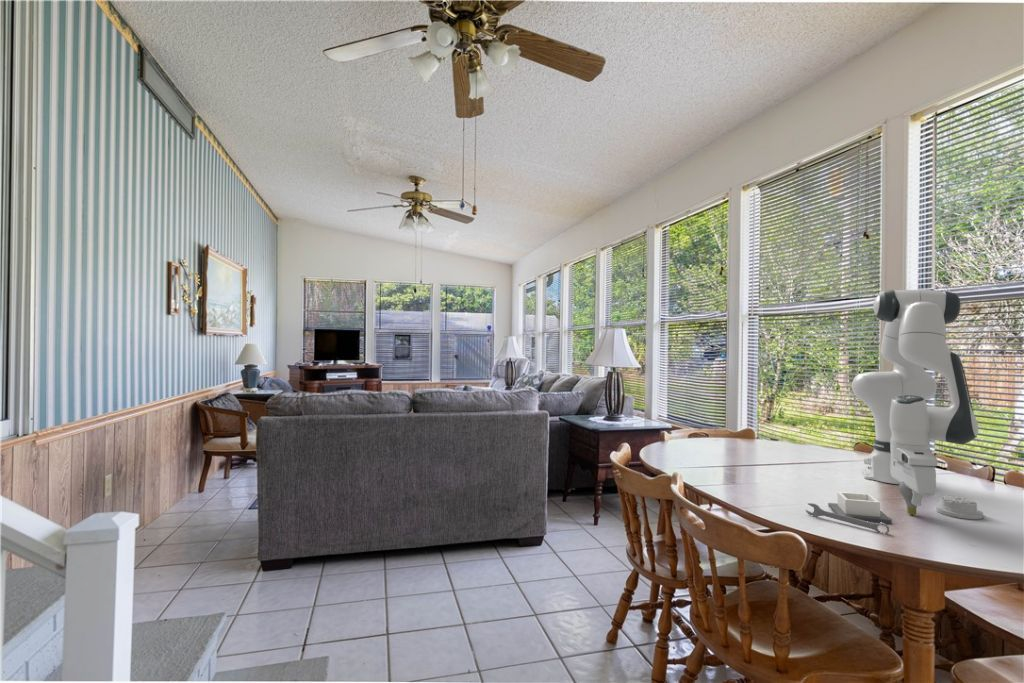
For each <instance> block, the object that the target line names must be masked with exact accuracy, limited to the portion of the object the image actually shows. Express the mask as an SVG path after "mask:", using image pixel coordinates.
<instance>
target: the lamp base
mask: <svg viewBox="0 0 1024 683" xmlns="http://www.w3.org/2000/svg"><path fill="white" fill-rule="evenodd" d="M836 493H837V494H836V495H837V496H836V497H837V503H834V502H827V503H828V507H829V509H830V508H831V509H832V510H833V511H832V510H831V509H830V510H831V511H832V513H836V514H839V515H843V516H847V517H851V518H855V519H859V520H863V521H872V522H871V523H878V522H882V523H885V524H889V523H892V522H893V521H892V519H891V518H890V517H889V516H888V515H886V514H885V513H884V512H883V511H882V510H881V502H880V501H879V500H877V499H876V498H875V497H874V496H872V494H869V493H857V492H846V491H845V492H843V491H837V492H836ZM892 524H893V523H892Z"/></svg>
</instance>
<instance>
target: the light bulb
mask: <svg viewBox="0 0 1024 683" xmlns="http://www.w3.org/2000/svg"><path fill="white" fill-rule="evenodd" d="M898 490H899V493H900V495H901V497H902V498H903V497H904V498H903V499H904V500H905V503H906V513H907V514H909V515H910V516H915V515H917V513H918V512H917V508H918V506H915V505H913V504H912V503H911V498H912V496H913V493H912V489H910V488H908V487H907V486H906V484H905V483H904V482H903V481H902V482H901V483H900V484H898Z"/></svg>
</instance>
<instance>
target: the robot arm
mask: <svg viewBox="0 0 1024 683" xmlns="http://www.w3.org/2000/svg"><path fill="white" fill-rule="evenodd" d="M872 308H873V312H874V316H875V317H876V318H877V319H878V320H881V321H883V322H885V325H884V330H883V333H882V334H883V335H882V339H881V340H882V341H881V345H880V350H879V351H880V355H881V357H882V359H884V360H885V361H887V362H888V363H890V364H892V365H893V369H892V370H891V371H868V372H863V373H859V374H857V375H855V376H854V378H853V379H852V382H851V390H852V393H853V394H854V397H856V398H858V400H860V401H861V402H863V403H864V404H865V405H866V407H868V409H869V410H870V412H871V414H872V417H873V421H874V430H875V431H874V432H875V438H874V439H873V440H874V441H873V450H872V451H871V453H870V454H869V455H868V457H867V458H866V457H865V458H864V459H863V463H864V465H867V467H861V473H862V475H863V477H864V479H866V480H867V479H868V480H873V481H878V482H881V483H886V484H887V483H888V484H894V485H900V483H901V482H902V481H903V482H904V483H905V484H906V486H907V487H908V488H910V489H912V493H913V496H912V498H911V503H912V504H913V505H915V506H917V507H921V506H922V499H923V497H924V496H925V495H926V496H933V495H934V494H935V492H936V491H937V490H936V487H937V471H936V467H938V465H939V463H938V459H937V457H936V456H935V455H934V454H933V452H932V450H931V442H930V440H932V441H939V442H941V441H942V442H947V443H952V444H957V445H964V444H965V445H966V444H968V443H970V442H972V441H974V440H975V439H977V437H978V433H979V423H978V420H977V417H976V415H975V414H974V413H975V412H974V410H973V406H972V400H971V396H970V391H969V386H968V382H967V378H966V374H965V373H966V372H965V370H964V366H963V362H962V360H961V358H960V356H959V355H958V354H957V353H955V352H953V351H951V350H950V348H949V347H948V345H947V342H946V336H947V335H946V330H947V329H946V325H947V324H951V323H953V322H954V321H956V320H957V318H958V317H959V315H960V312H961V310H962V303H961V298H960V297H959V295H958V294H957V293H955V292H952V291H947V290H946V291H945V290H943V291H939V290H932V289H931V290H929V289H920V288H919V289H901V290H894V289H889V290H888V289H887V290H883V291H881V292H879V293H878V294H877V296H876V298H875V299H874V301H873V307H872ZM925 369H927V370H930V371H933V372H935V373H939V374H940V375H942V376H943V377H944V378H945V379H946V383H947V387H948V388H947V389H948V394H949V397H950V398H949V399H950V403H951V405H950V406H946V407H945V406H943V407H942V406H928V405H927V402H926V401H927V400H931V399H932V398H933V397H934V396H935V394H936V393H937V390H938V387H937V385H938V384H937V382H936V380H935V378H934V377H933V376H932V375H930V373H928V372H927V371H926V370H925ZM902 498H903V499H904V497H903V496H902Z"/></svg>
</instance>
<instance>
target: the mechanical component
mask: <svg viewBox="0 0 1024 683" xmlns="http://www.w3.org/2000/svg"><path fill="white" fill-rule="evenodd" d="M977 503H978V502H977V501H975V500H973V499H971V498H966V497H962V496H957V495H955V496H954V495H945V496H944V495H941V497H940V503H939V504H936V505H935V511H936V512H937V513H940V514H941V515H945V516H949V517H952V518H953V517H954V518H958V519H965V520H981V519H984V512H983V511H981V510H979V509H978V507H977Z"/></svg>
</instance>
